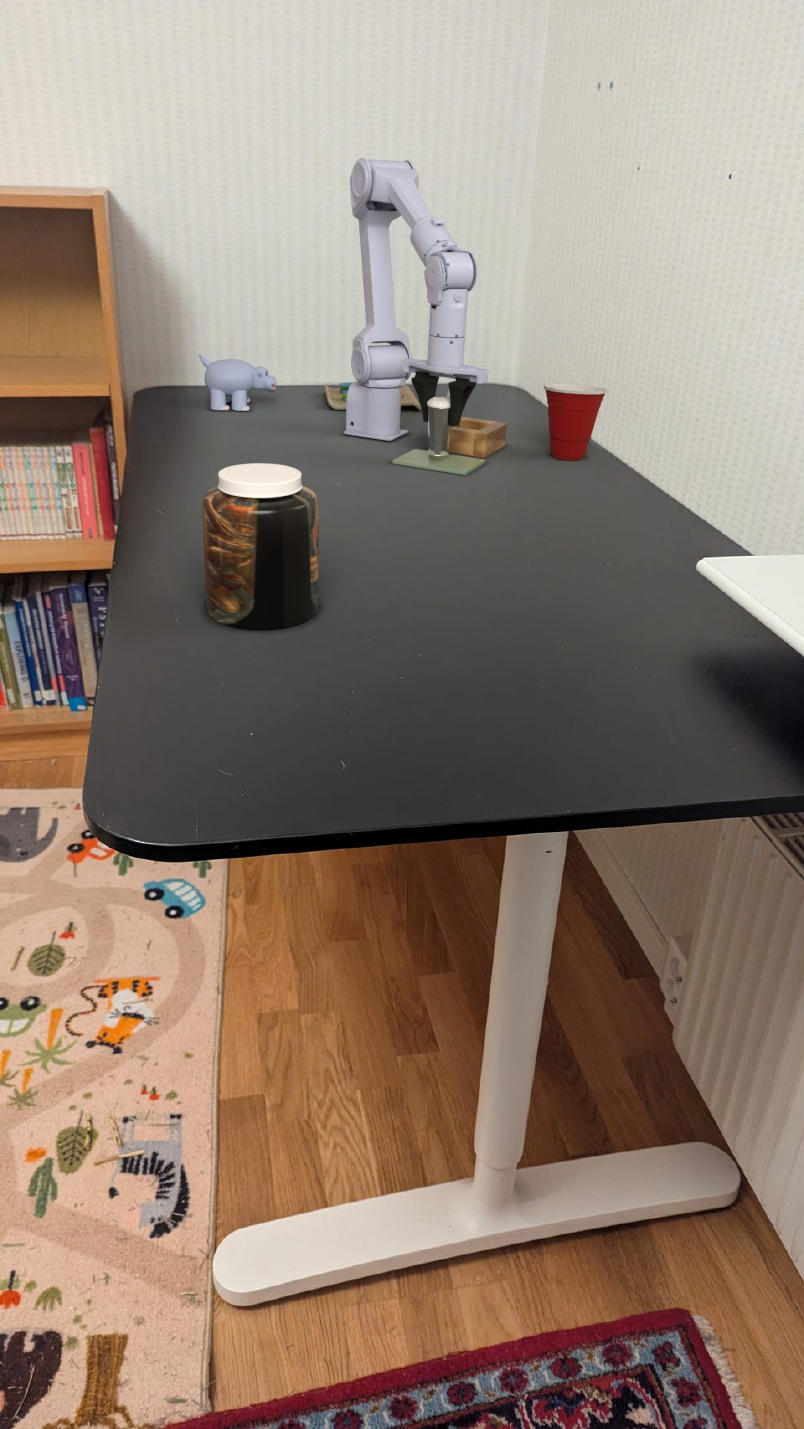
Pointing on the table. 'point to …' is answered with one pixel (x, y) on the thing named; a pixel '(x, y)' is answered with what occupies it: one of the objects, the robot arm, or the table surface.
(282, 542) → the jar
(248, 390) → the hippopotamus toy
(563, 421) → the plastic cup
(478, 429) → the holder
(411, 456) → the tile
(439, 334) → the robot arm
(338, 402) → the puzzle board
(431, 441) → the milkshake
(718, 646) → the table surface
